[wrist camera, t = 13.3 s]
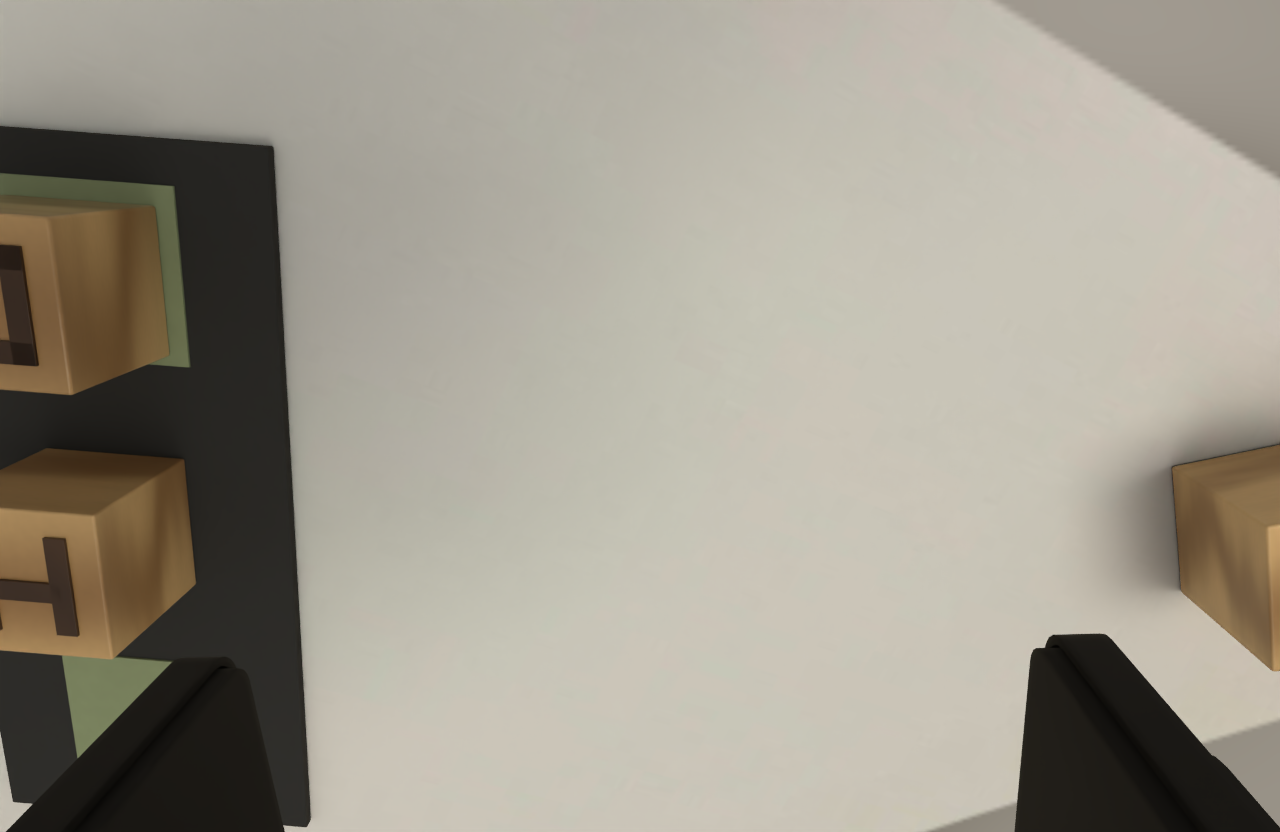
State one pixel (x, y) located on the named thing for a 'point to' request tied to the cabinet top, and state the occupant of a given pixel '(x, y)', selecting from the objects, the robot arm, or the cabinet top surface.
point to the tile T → (1233, 545)
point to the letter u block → (77, 293)
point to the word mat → (176, 447)
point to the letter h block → (90, 550)
